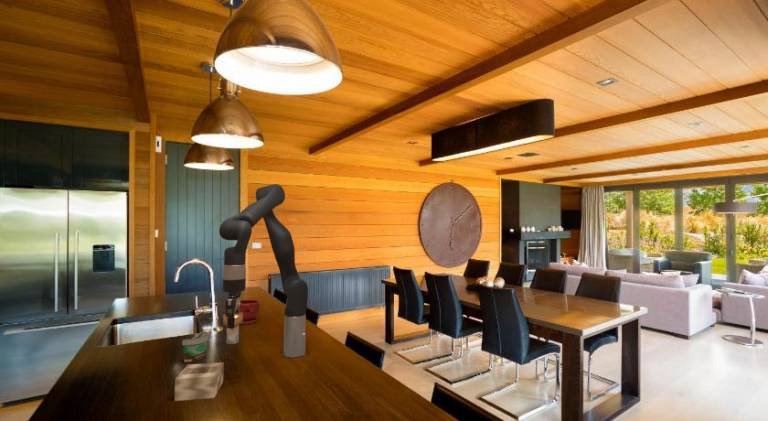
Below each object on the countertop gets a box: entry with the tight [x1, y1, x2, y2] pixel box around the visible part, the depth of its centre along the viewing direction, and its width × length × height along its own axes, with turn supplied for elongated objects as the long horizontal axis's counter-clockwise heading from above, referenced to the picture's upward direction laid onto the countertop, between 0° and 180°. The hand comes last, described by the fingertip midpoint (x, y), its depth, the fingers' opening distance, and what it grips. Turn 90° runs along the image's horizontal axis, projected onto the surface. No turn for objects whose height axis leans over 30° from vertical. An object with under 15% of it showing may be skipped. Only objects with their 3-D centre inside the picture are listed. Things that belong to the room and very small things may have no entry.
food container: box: [181, 331, 210, 365], centre depth 152 cm, size 12×6×10 cm, turn 168°
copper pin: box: [222, 311, 243, 345], centre depth 126 cm, size 6×6×10 cm
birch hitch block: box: [174, 362, 224, 402], centre depth 124 cm, size 12×12×7 cm
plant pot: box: [239, 299, 261, 325], centre depth 208 cm, size 13×13×12 cm
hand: (232, 325), depth 126 cm, fingers closed on copper pin, 6 cm apart
